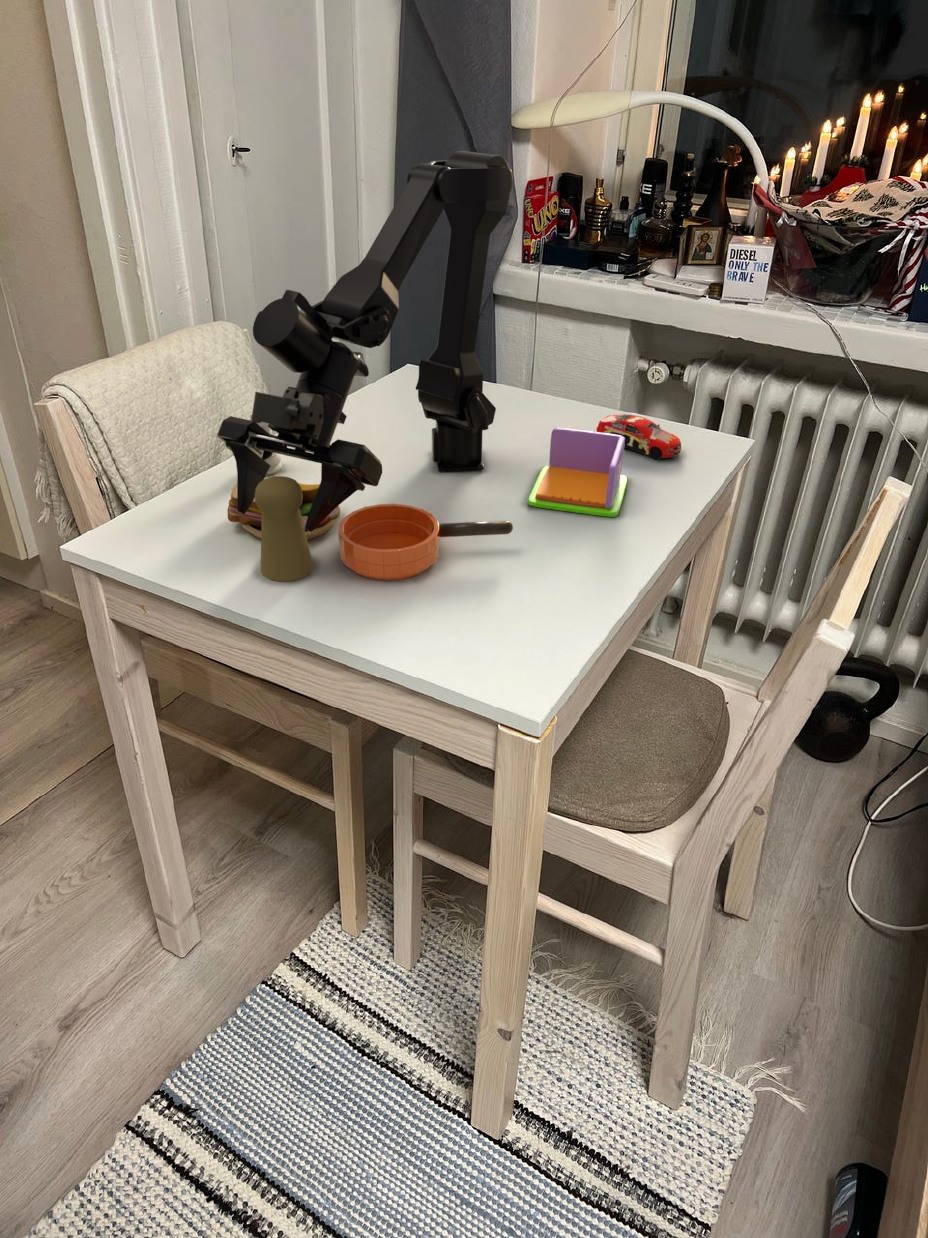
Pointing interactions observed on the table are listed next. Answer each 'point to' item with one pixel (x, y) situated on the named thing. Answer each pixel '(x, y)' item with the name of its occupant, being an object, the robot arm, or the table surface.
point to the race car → (641, 435)
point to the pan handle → (474, 528)
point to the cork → (282, 530)
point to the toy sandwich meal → (254, 514)
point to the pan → (389, 541)
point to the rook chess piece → (275, 457)
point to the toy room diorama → (582, 473)
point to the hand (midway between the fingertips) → (273, 521)
